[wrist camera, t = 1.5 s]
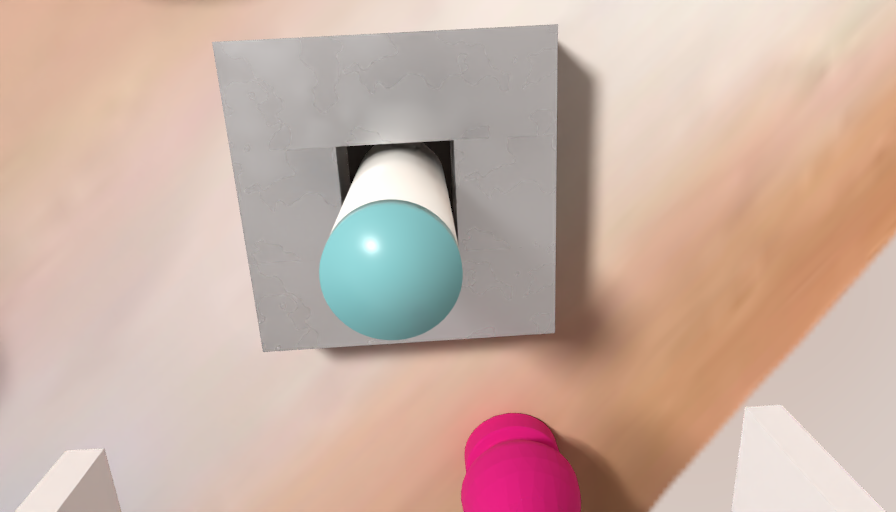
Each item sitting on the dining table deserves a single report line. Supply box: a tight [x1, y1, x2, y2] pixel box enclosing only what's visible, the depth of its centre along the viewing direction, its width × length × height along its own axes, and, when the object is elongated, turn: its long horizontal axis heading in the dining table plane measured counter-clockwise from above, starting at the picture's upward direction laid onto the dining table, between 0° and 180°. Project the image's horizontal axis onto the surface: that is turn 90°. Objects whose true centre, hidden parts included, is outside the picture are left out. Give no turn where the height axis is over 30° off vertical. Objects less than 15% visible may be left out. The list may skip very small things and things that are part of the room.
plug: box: [319, 142, 463, 340], centre depth 29 cm, size 5×5×15 cm
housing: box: [212, 24, 558, 352], centre depth 34 cm, size 16×16×4 cm
